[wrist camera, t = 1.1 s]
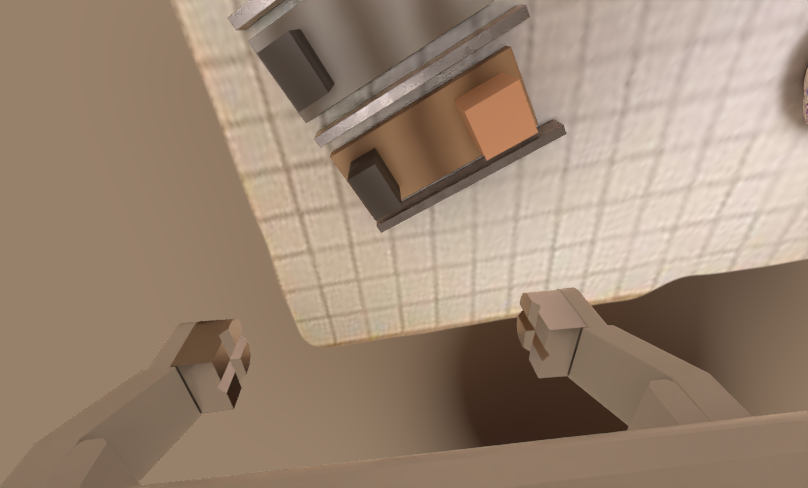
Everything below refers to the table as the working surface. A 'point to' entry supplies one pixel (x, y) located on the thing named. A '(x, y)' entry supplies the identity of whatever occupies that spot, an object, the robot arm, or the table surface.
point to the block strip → (418, 141)
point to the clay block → (496, 115)
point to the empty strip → (349, 44)
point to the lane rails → (550, 131)
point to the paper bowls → (805, 97)
